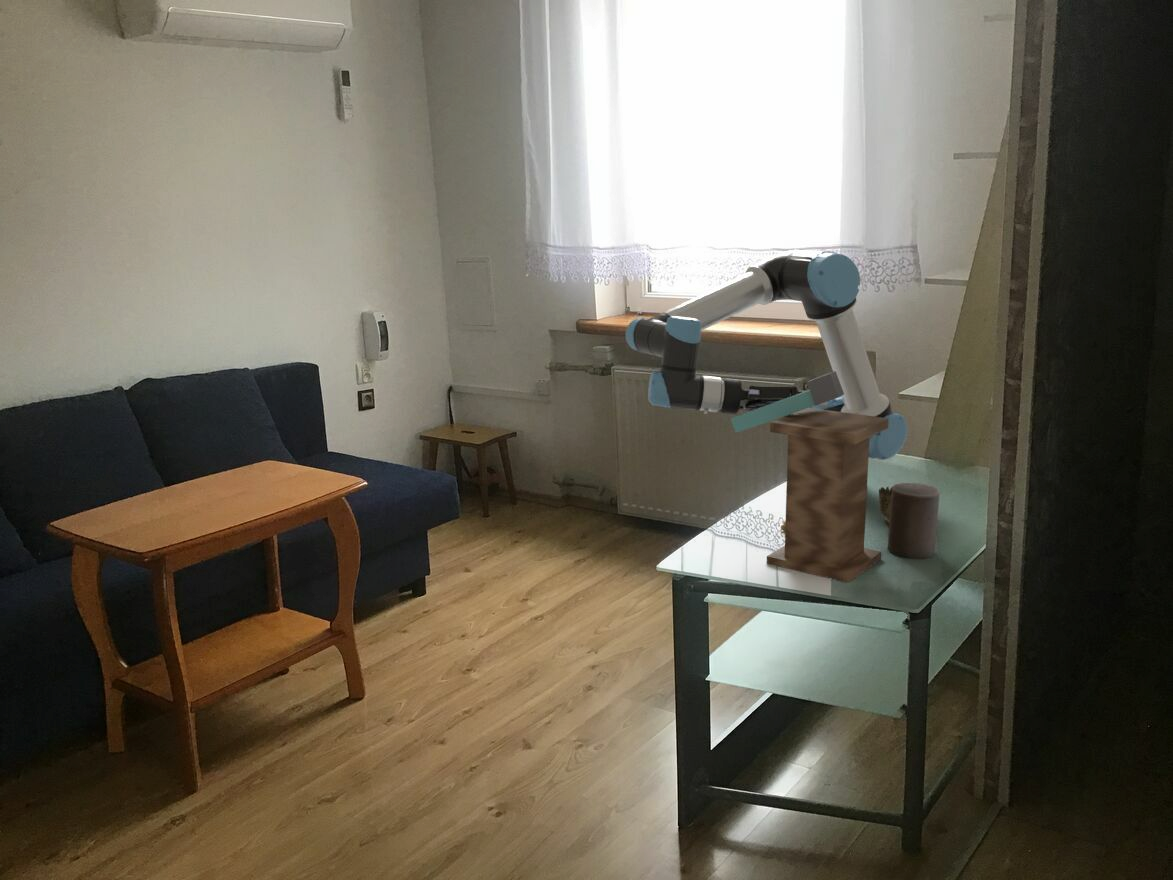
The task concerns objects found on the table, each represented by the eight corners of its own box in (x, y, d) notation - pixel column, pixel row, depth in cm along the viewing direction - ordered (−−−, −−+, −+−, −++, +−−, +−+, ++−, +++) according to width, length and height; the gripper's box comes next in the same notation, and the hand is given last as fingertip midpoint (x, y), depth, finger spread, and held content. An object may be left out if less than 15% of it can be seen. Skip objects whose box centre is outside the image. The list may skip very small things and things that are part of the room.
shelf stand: (766, 563, 217) (770, 422, 210) (802, 541, 229) (806, 407, 222) (848, 582, 206) (855, 434, 199) (881, 558, 218) (888, 418, 211)
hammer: (734, 433, 218) (726, 411, 218) (741, 430, 222) (733, 407, 222) (839, 397, 207) (830, 373, 207) (844, 394, 212) (835, 370, 212)
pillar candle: (890, 558, 219) (895, 489, 215) (884, 541, 228) (889, 475, 224) (939, 560, 217) (945, 491, 214) (930, 543, 227) (936, 477, 223)
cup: (912, 530, 235) (914, 496, 233) (878, 528, 236) (880, 494, 234) (909, 519, 242) (911, 486, 240) (876, 518, 243) (877, 485, 241)
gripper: (708, 422, 237) (801, 431, 238) (731, 401, 212) (834, 412, 213) (711, 389, 238) (803, 399, 239) (733, 365, 213) (836, 376, 214)
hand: (818, 405), depth 226 cm, fingers open, 13 cm apart
